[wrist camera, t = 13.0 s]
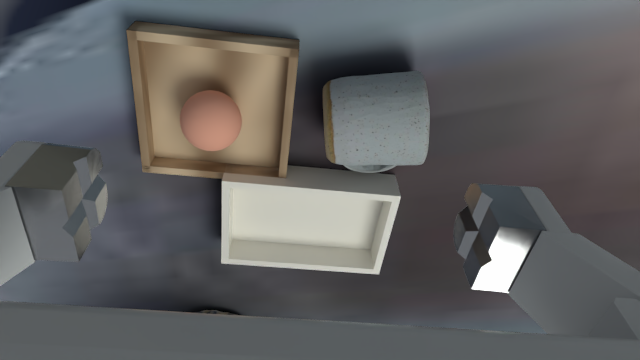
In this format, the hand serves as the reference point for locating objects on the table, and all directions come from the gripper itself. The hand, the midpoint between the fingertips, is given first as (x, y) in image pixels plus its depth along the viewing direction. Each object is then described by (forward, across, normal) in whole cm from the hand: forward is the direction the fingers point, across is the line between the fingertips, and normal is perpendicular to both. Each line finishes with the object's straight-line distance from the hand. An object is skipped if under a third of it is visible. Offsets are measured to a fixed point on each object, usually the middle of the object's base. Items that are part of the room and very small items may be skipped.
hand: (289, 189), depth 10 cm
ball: (+26, +6, +13) cm, 30 cm away
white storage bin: (+29, -3, +24) cm, 38 cm away
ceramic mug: (+29, -8, +12) cm, 33 cm away
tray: (+29, +6, +13) cm, 32 cm away
